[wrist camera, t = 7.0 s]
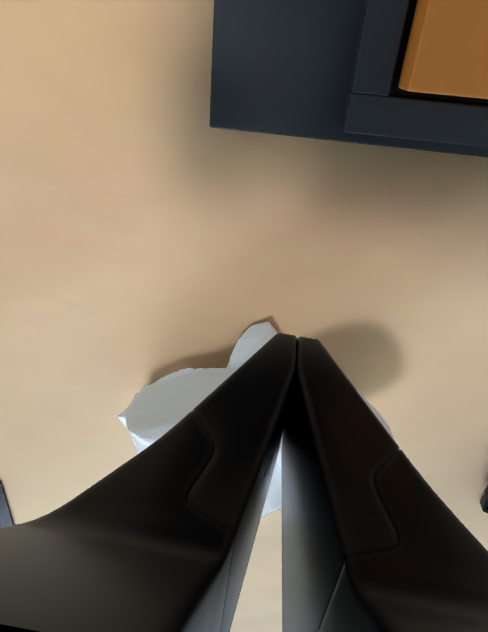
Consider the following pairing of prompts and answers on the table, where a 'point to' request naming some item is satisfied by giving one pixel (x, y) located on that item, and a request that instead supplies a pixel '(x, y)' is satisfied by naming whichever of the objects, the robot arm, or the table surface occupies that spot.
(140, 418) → the white lumpy shape
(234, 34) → the dark grey socket base
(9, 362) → the table surface
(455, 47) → the key
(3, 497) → the black-topped pedestal
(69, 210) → the table surface
